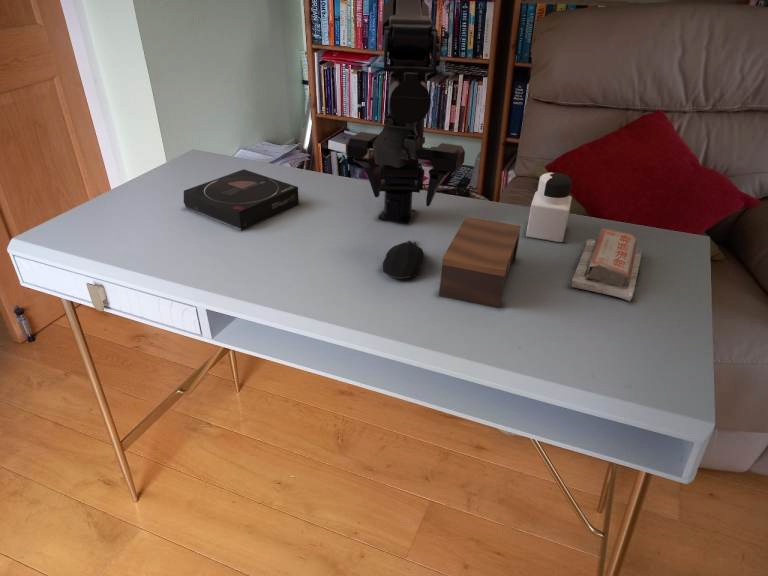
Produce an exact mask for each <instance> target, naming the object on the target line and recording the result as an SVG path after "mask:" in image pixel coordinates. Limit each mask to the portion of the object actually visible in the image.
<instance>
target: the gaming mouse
mask: <svg viewBox="0 0 768 576" xmlns="http://www.w3.org/2000/svg"><path fill="white" fill-rule="evenodd" d="M416 243H417V242H416V241H414V242H412V240H407V241H405V242H402V243H399V244H396V245H394V246H392V247H391V248H389V250H388V251H387V253H386V254H385V257H384V260H383V262H382V273H384V274H385V275H387V276H388V277H390V278H392V279H393V278H394V279H398V280H403V279H410V278H414V277H416V276H417V275H419V273H420V271H421V267H422V264H423V261H424V257H425V253H424V250H423V248H421V247H420V246H418V245H416Z"/></svg>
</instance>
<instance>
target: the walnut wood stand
mask: <svg viewBox="0 0 768 576" xmlns="http://www.w3.org/2000/svg"><path fill="white" fill-rule="evenodd" d="M521 230H522V226H521V225H518V224H512V223H506V222H500V221H494V220H488V219H481V218H476V217H470V216H465V218H464V219H463V221H462V223H461V224H460V226H459V228H458V230H457V231H456V232H455V235H454V237H453V239H452V241H450V244H449V245H448V248H447V249H446V251H445V253H444V255H443V256H442V260H441V269H440V281H439V292H438V296H439V297H444V298H450V299H453V300H459V301H462V302H468V303H473V304H479V305H483V306H488V307H491V308H492V307H493V308H498V309H499V308H500V307H501V305H502V299H503V293H504V292H503V291H504V285H505V281H506V278H507V275H508V272H509V269H510V266H511V264H512V263H513V264H515V262H516V260H517V253H518V248H519V241H520V236H521V235H520V234H521Z"/></svg>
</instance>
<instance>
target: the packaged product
mask: <svg viewBox="0 0 768 576" xmlns="http://www.w3.org/2000/svg"><path fill="white" fill-rule="evenodd" d="M637 239H638V238H637V237H636V236H634V235H633V234H631V233H629V232H624V231H619V230H616V229H609V228H601V230H600V231H599V234H598V236H597V239H596V240H595V239H594V238H588V239H587V240H586V244H585V247H584V249H583V251H582V253H581V256H580V259H579V261H578V264H577V267H576V269H575V270H574V271H575V272H574V274H573V276H572V279H571V288H575V289H580V290H586V291H590V292H593V293H598V294H603V295H606V296H607V295H608V296H613V297H615V298H620V299H623V300H626V301H628V302H631V300H632V298H633V296H634V292H635V290H636V289H635V288H636V284H637V278H638V273H639V268H640V264H641V260H642V256H643V255H642V254H643V251H642V250H638V249H637Z"/></svg>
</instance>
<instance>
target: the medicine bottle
mask: <svg viewBox="0 0 768 576" xmlns="http://www.w3.org/2000/svg"><path fill="white" fill-rule="evenodd" d="M572 184H573V180H572V178H571V177H570V176H568V175H566V174H564V173H561V172H554V171H551V172H546V173H543V174H542V175H540V176H539V181H538V186H537V190H536V191H535V192H534V195H533V198H532V201H531V204H530V209H529V215H528V221H527V227H526V233H525V236H526V238H531V239H536V240H537V239H538V240H543V241H549V242H556V243H563V242H564V239H565V234H566V230H567V224H568V220H569V216H570V211H571V205H572V200H573V197H572V196H571V195H570V194H571V189H572V186H573V185H572Z"/></svg>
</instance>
